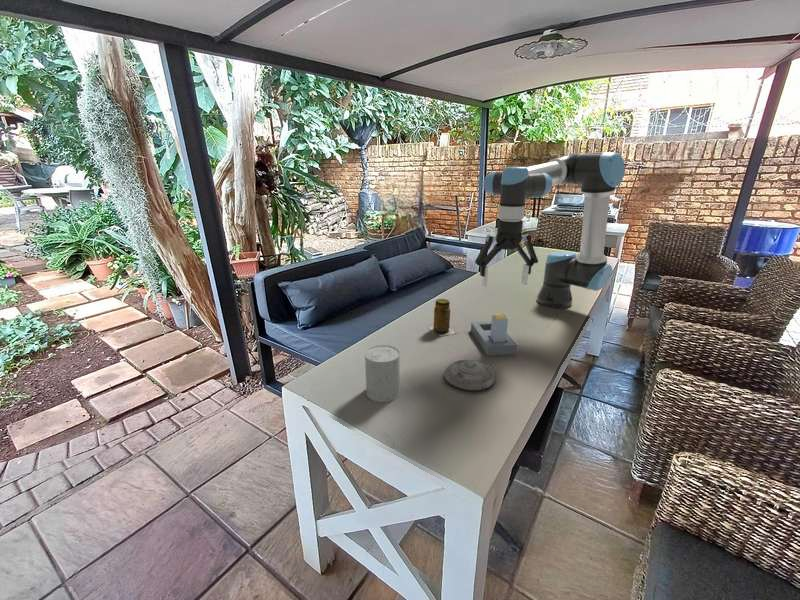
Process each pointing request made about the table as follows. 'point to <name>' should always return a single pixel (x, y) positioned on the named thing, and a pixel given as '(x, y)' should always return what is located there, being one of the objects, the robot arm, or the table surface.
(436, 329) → the condiment
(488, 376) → the flying saucer
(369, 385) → the pale grey cylinder
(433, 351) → the table surface
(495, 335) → the plug
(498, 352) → the panel
